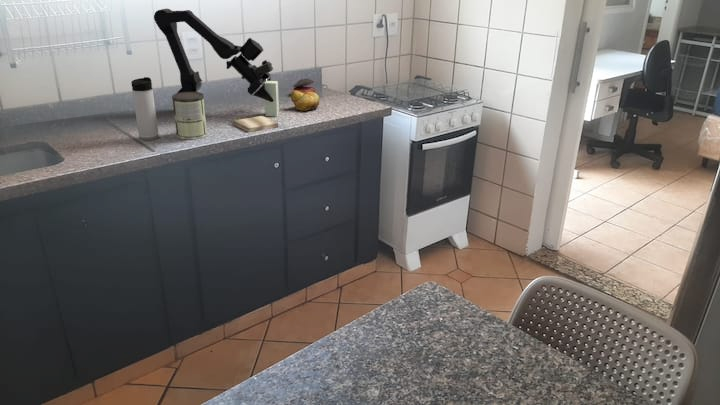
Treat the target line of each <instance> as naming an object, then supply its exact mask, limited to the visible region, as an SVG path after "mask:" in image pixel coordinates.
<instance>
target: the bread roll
mask: <svg viewBox="0 0 720 405" xmlns="http://www.w3.org/2000/svg"><path fill="white" fill-rule="evenodd" d="M290 99H291V102H292V103H293V105H294V108H295V109H296V110H298V111H302V112H307V111H310V110H315V109H318V106H319V105H320V97H319V95H318V94H317V93H316V92H315V93H314V92H310V91H306V92H304V93H302V92H300V91H297V90H292V91H291V93H290Z"/></svg>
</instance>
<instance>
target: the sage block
mask: <svg viewBox="0 0 720 405" xmlns="http://www.w3.org/2000/svg"><path fill="white" fill-rule="evenodd" d="M265 89H266V90H267V92H268V93H269V94H270V95H271V97H272V98H273V100H274V101H273V102H270V101H268V100H265V99H264V108H265V110H264V112H265V117H278V115H279V114H280V109H279V107H280V105H279V104H280V103H279V82H278V81H277V80H271V81H266V82H265Z"/></svg>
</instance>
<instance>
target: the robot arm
mask: <svg viewBox="0 0 720 405" xmlns="http://www.w3.org/2000/svg"><path fill="white" fill-rule="evenodd" d="M153 19H154V22H155V24H156V26H157V27H158V29H159V30H160V31H161V32H162V34H163V35H164V37H165V39H166V41H167V44H168V46H169V48H170V49H171V53H172V55H173V58H174V60H175V64H176V66H177V68H178V70H179V74H180V75H179V76H180V77H179V80H180V84H181V88H179V90H178V91H177V92H176V93H181V92H199V90H200V89H201V88H202V86H203V84H202V82H203V80H202V78H201V76H200V72H199V71H194V69H193V68H192V66H191V63H190V61H189V59H188V56H187V54H186V51H185V49H184V46H183V44H182V40H181V39H180V36H179V32H178V23H183V22H184V23H186V24H187V25H188V26H189V27H190V28H191V29H192V30H193V31H195V32H196V33H197V34H198V35H199V36H201V38H203V39H204V40H205V41H206V42H208V43H209V45H210V46H211V47H212V50H213V51H214V52H215V53H216V54H217V56H219V58H220V59H222V60H227V61H225V62H226V69H227V70H229V69H230V68H233V69H234V70H235V71H236V72H237V73H238V74H240V76H241V77H240V78H241V79H242V80H245V81H246V82H248V84H249V85H248V87H247V93H248V94H250V96H252V95H253V96H255V97H257V98H261V99H263V100H264V101H265V100H268V101H270V102H273V101H274V100H273V98H272V97H271V95H270V94H269V93H268V92H267V90H266V89H265V82H266V81H272V76H271V73H270V72H272V71H273V70H274V67H273V66H272V65H273V64H272V62H271V61H268V60H267V59H265V60H263V61H262V62H261V64H260V65H259V66H256V65H255V64H253V65H252V63H250V62H249V61H252V62H254V61H256V59H257V58H258V57H259V56H260V55H261V54H262V53H263V52H264V48H263V47H262V45H261V44H260V43H259V42H257V41H256V40H254V39H252V38H251V37H249V38H248V39H246V42H245V43H244V44H243V45H242V46H240V45H236V44H235V43H233V42H231V41H230V40H228V39H226V38H225V37H223V36H221V35H219V34H217V33H216V32H215V31H214V30H212V28H211V27H209V26H208V25H207V24H205V22H204V21H202V20H201V19H200V18H199V17H197V16H196V15H195V13H194V12H192V11H191V10H190V9H186V10H171V9H170V8H162V9H158V10H156V11H155V12H154V15H153ZM238 54H239V55H238ZM236 55H238V56H236ZM230 58H231V60H228V59H230Z"/></svg>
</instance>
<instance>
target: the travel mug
mask: <svg viewBox="0 0 720 405" xmlns="http://www.w3.org/2000/svg"><path fill="white" fill-rule="evenodd" d="M153 89H154V88H153V84H152V79H151V78H150V77H146V76H145V77H141V78H135V79H134V80H132V81H131V90H132V98H133V105H134V111H135V118H136V125H137V132H138V138H139V140H141V141H149V142H150V141H155V140H157V139H158V138H160V137H159V130H158V129H159V128H158V122H157V120H158V119H157V113H156V105H155V99H154V98H155V97H154V91H153Z"/></svg>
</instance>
